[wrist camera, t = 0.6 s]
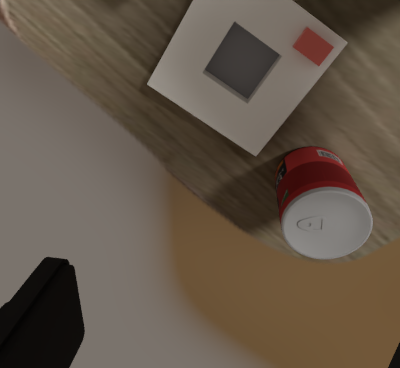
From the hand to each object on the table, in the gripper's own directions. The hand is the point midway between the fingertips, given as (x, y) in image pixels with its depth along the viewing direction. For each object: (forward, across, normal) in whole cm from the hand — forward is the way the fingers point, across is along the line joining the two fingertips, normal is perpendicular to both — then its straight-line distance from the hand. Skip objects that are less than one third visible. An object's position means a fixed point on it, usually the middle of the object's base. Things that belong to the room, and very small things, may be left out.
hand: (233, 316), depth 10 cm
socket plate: (+31, +1, -2) cm, 31 cm away
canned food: (+31, -8, +10) cm, 34 cm away
